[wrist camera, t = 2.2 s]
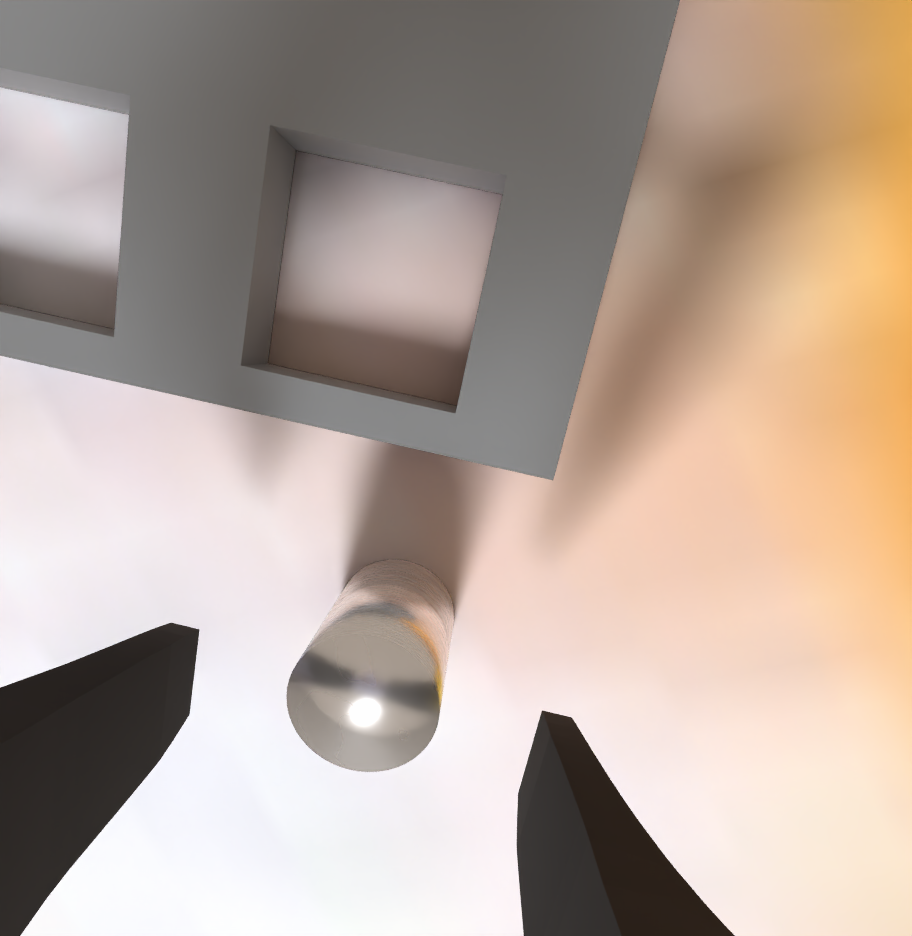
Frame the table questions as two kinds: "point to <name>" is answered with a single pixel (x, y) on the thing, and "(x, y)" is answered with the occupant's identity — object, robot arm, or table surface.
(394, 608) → the loose pin
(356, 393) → the hole board
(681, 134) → the table surface
